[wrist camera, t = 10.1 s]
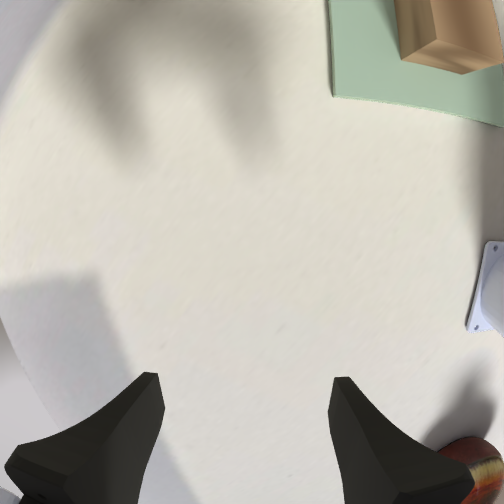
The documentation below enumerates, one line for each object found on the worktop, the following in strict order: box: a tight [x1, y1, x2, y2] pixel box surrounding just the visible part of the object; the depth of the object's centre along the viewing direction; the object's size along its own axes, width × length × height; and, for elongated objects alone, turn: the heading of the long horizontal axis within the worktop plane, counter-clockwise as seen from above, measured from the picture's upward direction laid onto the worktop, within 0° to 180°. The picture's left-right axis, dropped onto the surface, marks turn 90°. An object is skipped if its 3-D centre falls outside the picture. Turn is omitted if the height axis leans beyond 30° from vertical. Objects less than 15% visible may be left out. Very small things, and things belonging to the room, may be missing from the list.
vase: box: [438, 437, 504, 504], centre depth 21 cm, size 11×11×15 cm
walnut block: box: [394, 0, 504, 75], centre depth 13 cm, size 5×5×5 cm
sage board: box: [328, 0, 504, 127], centre depth 16 cm, size 14×11×1 cm
